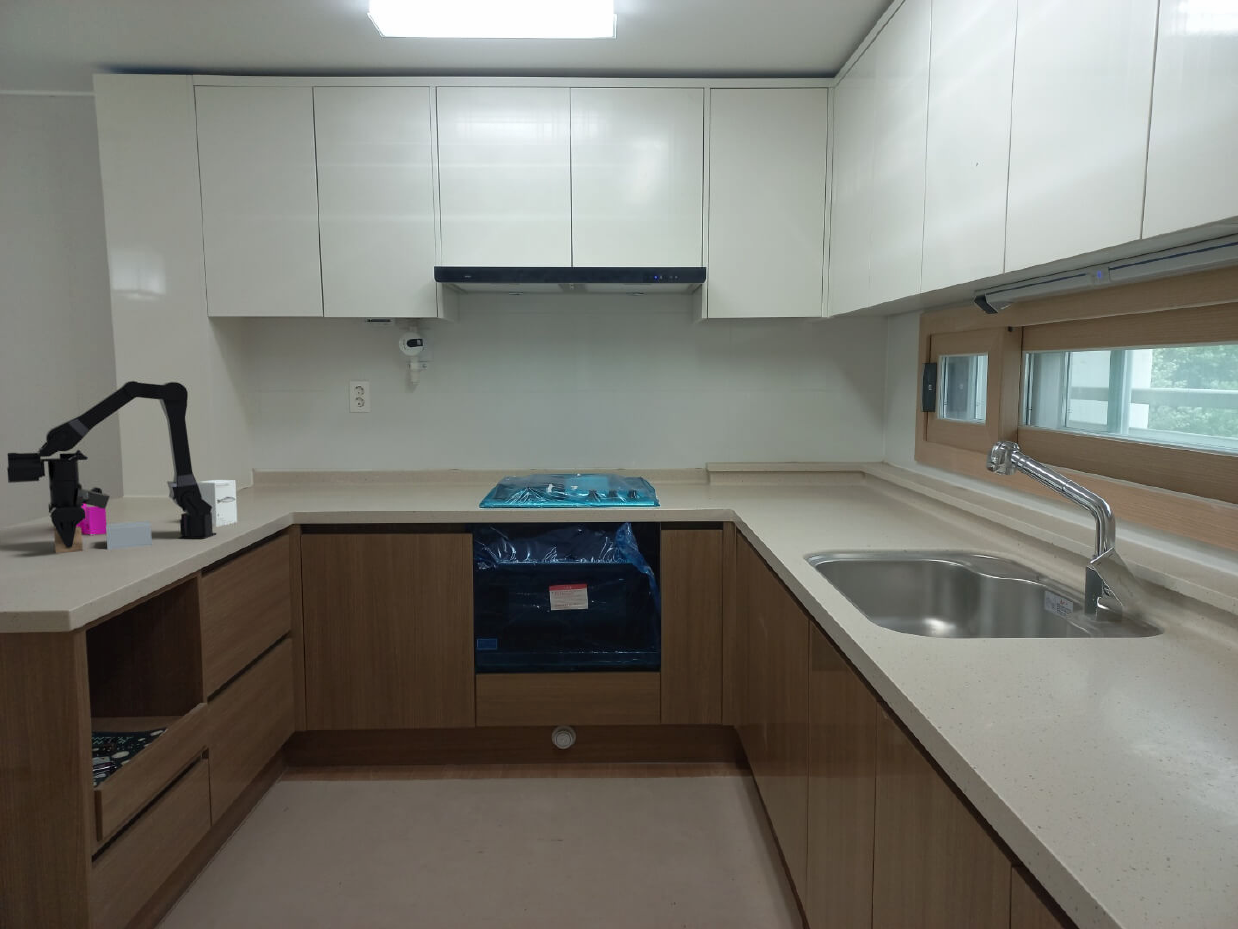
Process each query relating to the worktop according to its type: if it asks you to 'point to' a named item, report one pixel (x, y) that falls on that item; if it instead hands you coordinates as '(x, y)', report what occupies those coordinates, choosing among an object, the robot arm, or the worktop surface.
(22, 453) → the robot arm
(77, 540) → the walnut cube
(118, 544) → the slate base block
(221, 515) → the supplement box
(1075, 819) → the worktop surface
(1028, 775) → the worktop surface
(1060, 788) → the worktop surface
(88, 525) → the toy block
